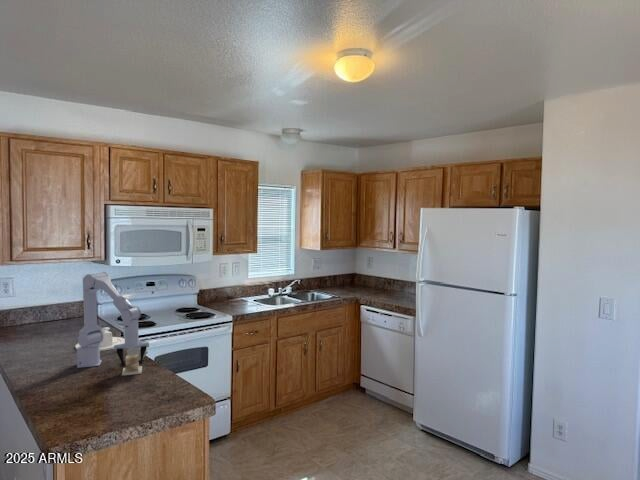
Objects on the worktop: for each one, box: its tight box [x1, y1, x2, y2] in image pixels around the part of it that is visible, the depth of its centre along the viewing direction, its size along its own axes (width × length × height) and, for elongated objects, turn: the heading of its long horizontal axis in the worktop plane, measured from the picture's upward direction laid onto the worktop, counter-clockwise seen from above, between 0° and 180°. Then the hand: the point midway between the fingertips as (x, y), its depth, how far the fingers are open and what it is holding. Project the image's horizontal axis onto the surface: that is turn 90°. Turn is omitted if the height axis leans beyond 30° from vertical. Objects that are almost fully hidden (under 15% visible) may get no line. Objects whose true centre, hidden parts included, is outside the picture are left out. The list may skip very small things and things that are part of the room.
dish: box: [74, 326, 125, 352], centre depth 243 cm, size 25×25×11 cm
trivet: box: [121, 365, 143, 376], centre depth 201 cm, size 8×8×1 cm
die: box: [126, 348, 149, 362], centre depth 217 cm, size 8×9×10 cm
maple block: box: [125, 354, 140, 372], centre depth 201 cm, size 5×5×6 cm
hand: (132, 364), depth 201 cm, fingers open, 7 cm apart
